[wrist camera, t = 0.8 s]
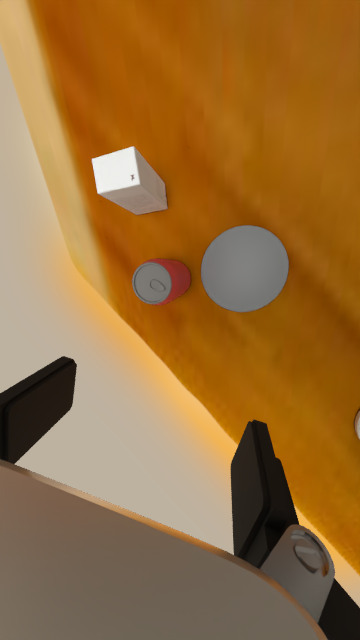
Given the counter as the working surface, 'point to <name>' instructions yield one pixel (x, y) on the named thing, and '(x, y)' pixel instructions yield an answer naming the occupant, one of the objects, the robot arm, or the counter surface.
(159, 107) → the counter surface
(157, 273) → the beer can
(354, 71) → the counter surface
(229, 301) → the slate mat
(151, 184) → the skincare box
